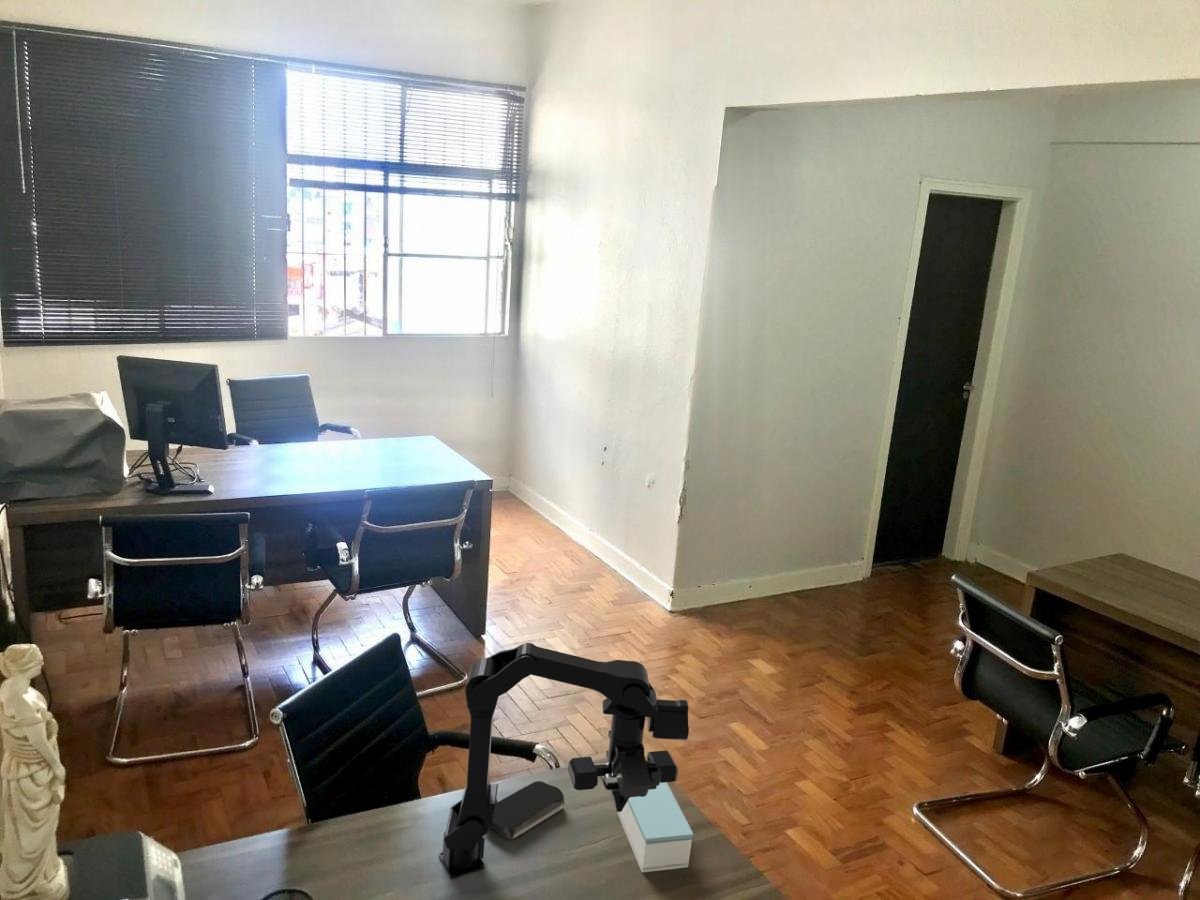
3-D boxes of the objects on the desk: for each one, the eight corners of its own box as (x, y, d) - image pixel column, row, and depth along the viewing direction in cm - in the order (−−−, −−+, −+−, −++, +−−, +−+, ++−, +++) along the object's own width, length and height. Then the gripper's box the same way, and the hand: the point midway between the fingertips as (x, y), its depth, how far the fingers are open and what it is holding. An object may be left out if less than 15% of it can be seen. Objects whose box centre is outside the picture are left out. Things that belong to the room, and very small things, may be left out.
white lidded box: (642, 872, 163) (645, 844, 161) (615, 808, 180) (618, 782, 178) (688, 867, 165) (691, 839, 164) (657, 804, 182) (660, 778, 180)
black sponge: (506, 848, 166) (508, 831, 165) (477, 824, 172) (478, 808, 171) (567, 810, 178) (569, 795, 177) (538, 790, 183) (540, 774, 183)
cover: (645, 842, 161) (645, 838, 161) (618, 781, 178) (619, 777, 178) (692, 837, 164) (693, 834, 164) (662, 777, 180) (662, 774, 180)
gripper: (586, 766, 145) (578, 847, 149) (693, 757, 150) (682, 835, 154) (570, 727, 155) (563, 804, 159) (671, 720, 160) (662, 794, 164)
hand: (618, 810), depth 159 cm, fingers closed
